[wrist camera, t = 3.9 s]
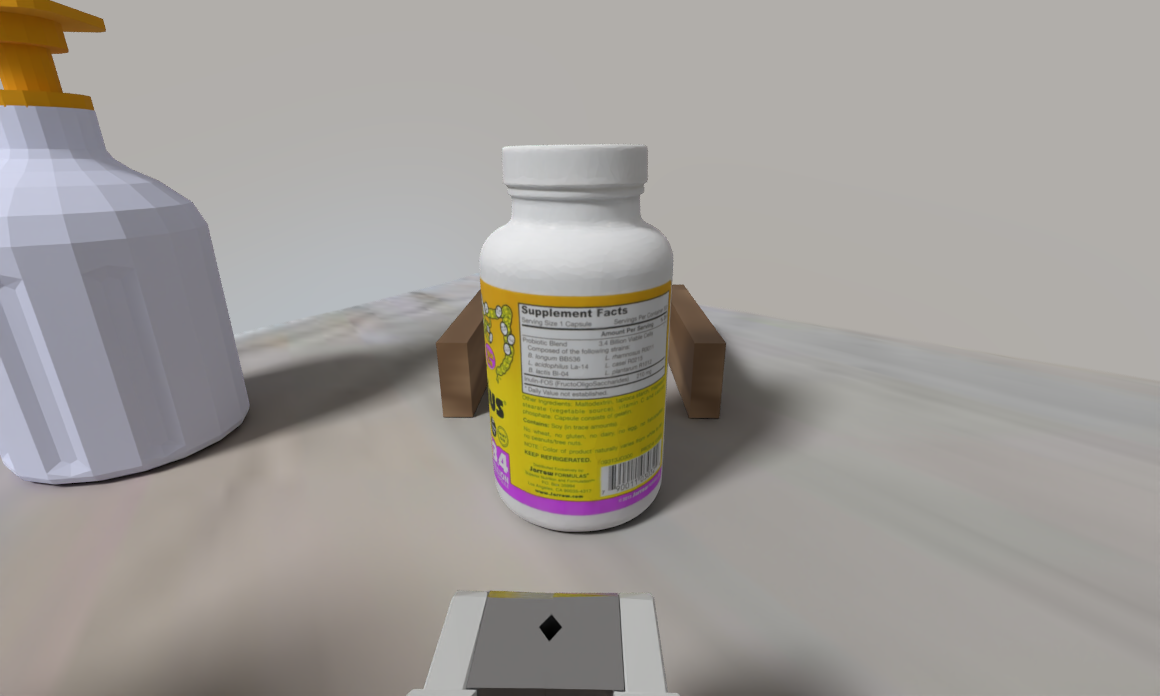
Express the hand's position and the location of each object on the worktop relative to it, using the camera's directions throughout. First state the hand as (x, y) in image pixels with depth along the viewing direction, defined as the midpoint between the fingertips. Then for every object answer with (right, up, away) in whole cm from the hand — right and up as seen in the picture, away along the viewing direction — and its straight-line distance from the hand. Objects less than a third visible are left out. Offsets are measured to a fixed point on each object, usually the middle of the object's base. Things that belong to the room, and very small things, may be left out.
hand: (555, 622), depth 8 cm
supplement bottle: (0, -2, +13) cm, 13 cm away
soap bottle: (-21, 0, +18) cm, 27 cm away
